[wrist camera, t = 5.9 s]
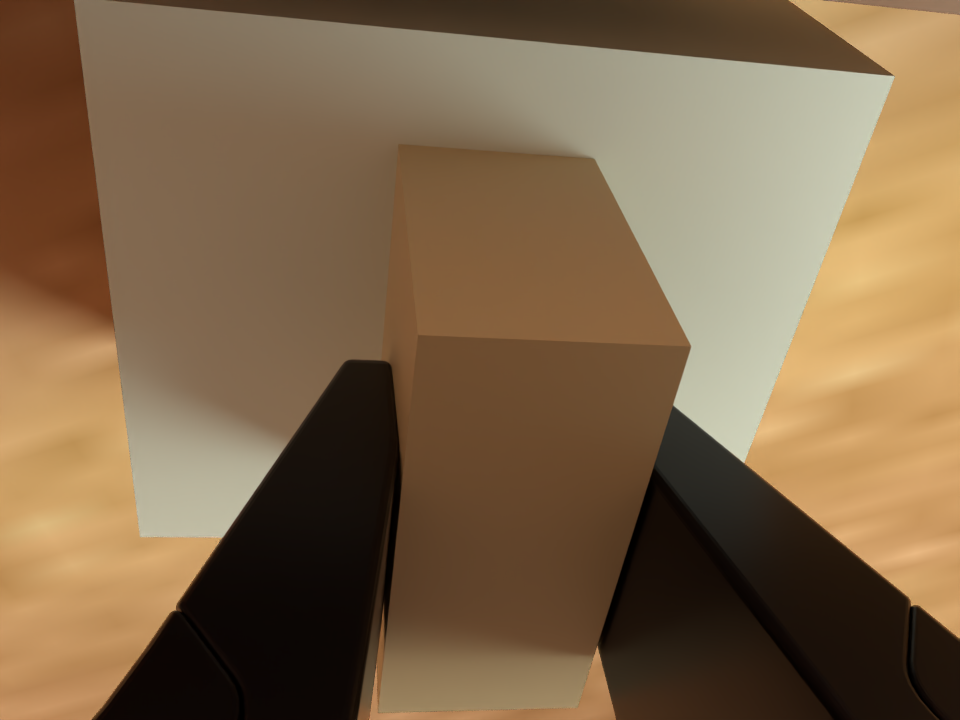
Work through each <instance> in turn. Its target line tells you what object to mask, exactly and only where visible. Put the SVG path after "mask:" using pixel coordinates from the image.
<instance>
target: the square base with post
mask: <svg viewBox="0 0 960 720" xmlns="http://www.w3.org/2000/svg"><path fill="white" fill-rule="evenodd" d="M74 6H75V14H76V22H77V30H78V38H79V46H80V54H81V62H82V70H83V79H84V87H85V95H86V103H87V111H88V119H89V127H90V135H91V143H92V152H93V160H94V168H95V176H96V184H97V192H98V200H99V208H100V216H101V225H102V233H103V241H104V249H105V257H106V265H107V273H108V281H109V289H110V297H111V306H112V314H113V322H114V330H115V338H116V346H117V354H118V362H119V370H120V379H121V387H122V395H123V403H124V411H125V419H126V427H127V435H128V443H129V452H130V460H131V468H132V476H133V484H134V492H135V500H136V508H137V516H138V525H139V533H140V537H223V536H224V535H225V533H226V532H227V531H228V529H229V528H230V526H231V525H232V523H233V522H234V520H235V519H236V517H237V516H238V515H239V513H240V512H241V510H242V509H243V507H244V506H245V504H246V503H247V502H248V500H249V499H250V497H251V496H252V494H253V493H254V491H255V490H256V489H257V487H258V486H259V484H260V483H261V481H262V480H263V478H264V477H265V475H266V474H267V473H268V471H269V470H270V468H271V467H272V465H273V464H274V462H275V461H276V460H277V458H278V457H279V455H280V454H281V452H282V451H283V449H284V448H285V446H286V445H287V444H288V442H289V441H290V439H291V438H292V436H293V435H294V433H295V432H296V431H297V429H298V428H299V426H300V425H301V423H302V422H303V420H304V419H305V417H306V416H307V415H308V413H309V412H310V410H311V409H312V407H313V406H314V404H315V403H316V402H317V400H318V399H319V397H320V396H321V394H322V393H323V391H324V390H325V389H326V387H327V386H328V384H329V383H330V381H331V380H332V378H333V377H334V375H335V374H336V373H337V371H338V370H339V368H340V367H341V365H342V364H343V363H344V362H345V361H347V360H350V359H359V360H383V361H387V362H388V363H389V364H390V365H391V368H392V377H393V387H394V397H395V406H396V416H397V426H398V437H399V455H398V466H397V476H396V486H395V495H394V505H393V515H392V525H391V535H390V545H389V555H388V565H387V574H386V584H385V594H384V604H383V614H382V624H381V632H380V639H379V647H378V655H377V694H378V713H399V712H437V711H476V710H515V709H554V708H578V705H579V702H580V699H581V695H582V692H583V689H584V686H585V683H586V680H587V676H588V673H589V670H590V667H591V664H592V661H593V657H594V654H595V651H596V648H597V645H598V641H599V638H600V635H601V632H602V629H603V626H604V622H605V619H606V616H607V613H608V610H609V607H610V603H611V600H612V597H613V594H614V591H615V588H616V584H617V581H618V578H619V575H620V572H621V569H622V565H623V562H624V559H625V556H626V553H627V550H628V546H629V543H630V540H631V537H632V534H633V531H634V527H635V524H636V521H637V518H638V515H639V511H640V508H641V505H642V502H643V499H644V496H645V492H646V489H647V486H648V483H649V480H650V477H651V473H652V470H653V467H654V464H655V461H656V458H657V454H658V451H659V448H660V445H661V442H662V439H663V435H664V432H665V429H666V426H667V423H668V420H669V416H670V413H671V410H672V407H673V405H674V406H675V407H676V408H677V409H679V410H680V411H681V412H682V413H683V414H685V415H686V416H687V417H688V418H690V419H691V420H692V421H693V422H694V423H696V424H697V425H698V426H699V427H701V428H702V429H703V430H704V431H705V432H707V433H708V434H709V435H710V436H712V437H713V438H714V439H715V440H716V441H718V442H719V443H720V444H721V445H723V446H724V447H725V448H726V449H727V450H729V451H730V452H731V453H732V454H734V455H735V456H736V457H737V458H738V459H740V460H741V461H742V462H743V463H744V462H745V459H746V457H747V454H748V451H749V449H750V446H751V444H752V441H753V439H754V436H755V434H756V431H757V428H758V426H759V423H760V421H761V418H762V416H763V413H764V410H765V408H766V405H767V403H768V400H769V398H770V395H771V393H772V390H773V387H774V385H775V382H776V380H777V377H778V375H779V372H780V369H781V367H782V364H783V362H784V359H785V357H786V354H787V352H788V349H789V346H790V344H791V341H792V339H793V336H794V334H795V331H796V328H797V326H798V323H799V321H800V318H801V316H802V313H803V310H804V308H805V305H806V303H807V300H808V298H809V295H810V293H811V290H812V287H813V285H814V282H815V280H816V277H817V275H818V272H819V269H820V267H821V264H822V262H823V259H824V257H825V254H826V252H827V249H828V246H829V244H830V241H831V239H832V236H833V234H834V231H835V228H836V226H837V223H838V221H839V218H840V216H841V213H842V210H843V208H844V205H845V203H846V200H847V198H848V195H849V193H850V190H851V187H852V185H853V182H854V180H855V177H856V175H857V172H858V169H859V167H860V164H861V162H862V159H863V157H864V154H865V152H866V149H867V146H868V144H869V141H870V139H871V136H872V134H873V131H874V128H875V126H876V123H877V121H878V118H879V116H880V113H881V111H882V108H883V105H884V103H885V100H886V98H887V95H888V93H889V90H890V87H891V85H892V82H893V80H894V77H895V76H894V75H892V74H891V73H890V72H888V71H887V70H885V69H884V68H882V67H881V66H880V65H878V64H877V63H875V62H874V61H873V60H871V59H870V58H868V57H867V56H866V55H864V54H863V53H861V52H860V51H859V50H857V49H856V48H854V47H853V46H852V45H850V44H849V43H847V42H846V41H845V40H843V39H842V38H840V37H839V36H838V35H836V34H835V33H833V32H832V31H831V30H829V29H828V28H826V27H825V26H824V25H822V24H821V23H819V22H818V21H817V20H815V19H814V18H812V17H811V16H810V15H808V14H807V13H805V12H804V11H803V10H801V9H800V8H798V7H797V6H796V5H794V4H793V3H791V2H790V1H789V0H74Z"/></svg>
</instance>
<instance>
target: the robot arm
mask: <svg viewBox="0 0 960 720" xmlns="http://www.w3.org/2000/svg"><path fill="white" fill-rule="evenodd" d="M398 455H399V437H398V426H397V416H396V406H395V397H394V387H393V377H392V368H391V365H390V364H389V363H388V362H387V361H383V360H359V359H350V360H347V361H345V362H344V363H343V364H342V365H341V367H340V368H339V370H338V371H337V373H336V374H335V375H334V377H333V378H332V380H331V381H330V383H329V384H328V386H327V387H326V389H325V390H324V391H323V393H322V394H321V396H320V397H319V399H318V400H317V402H316V403H315V404H314V406H313V407H312V409H311V410H310V412H309V413H308V415H307V416H306V417H305V419H304V420H303V422H302V423H301V425H300V426H299V428H298V429H297V431H296V432H295V433H294V435H293V436H292V438H291V439H290V441H289V442H288V444H287V445H286V446H285V448H284V449H283V451H282V452H281V454H280V455H279V457H278V458H277V460H276V461H275V462H274V464H273V465H272V467H271V468H270V470H269V471H268V473H267V474H266V475H265V477H264V478H263V480H262V481H261V483H260V484H259V486H258V487H257V489H256V490H255V491H254V493H253V494H252V496H251V497H250V499H249V500H248V502H247V503H246V504H245V506H244V507H243V509H242V510H241V512H240V513H239V515H238V516H237V517H236V519H235V520H234V522H233V523H232V525H231V526H230V528H229V529H228V531H227V532H226V533H225V535H224V536H223V538H222V539H221V541H220V542H219V544H218V545H217V546H216V548H215V549H214V551H213V552H212V554H211V555H210V557H209V558H208V560H207V561H206V562H205V564H204V565H203V567H202V568H201V570H200V571H199V573H198V574H197V575H196V577H195V578H194V580H193V581H192V583H191V584H190V586H189V587H188V589H187V590H186V591H185V593H184V594H183V596H182V597H181V599H180V600H179V602H178V603H177V605H176V611H172V612H171V613H170V614H169V615H168V617H167V618H166V620H165V621H164V622H163V624H162V625H161V627H160V628H159V630H158V631H157V633H156V634H155V636H154V637H153V638H152V640H151V641H150V643H149V644H148V646H147V647H146V649H145V650H144V651H143V653H142V654H141V655H140V657H139V658H138V659H137V661H136V662H135V664H134V665H133V666H132V668H131V669H130V670H129V672H128V673H127V674H126V676H125V677H124V678H123V680H122V681H121V682H120V684H119V685H118V686H117V688H116V689H115V690H114V692H113V693H112V695H111V696H110V697H109V699H108V700H107V701H106V703H105V704H104V705H103V707H102V708H101V709H100V710H99V712H98V713H97V714H96V715H95V716H94V717H93V719H92V720H369V717H370V709H371V701H372V694H373V686H374V678H375V670H376V663H377V655H378V647H379V639H380V632H381V624H382V614H383V604H384V594H385V584H386V574H387V565H388V555H389V545H390V535H391V525H392V515H393V505H394V495H395V486H396V476H397V466H398ZM597 646H598V650H599V654H600V658H601V661H602V665H603V669H604V673H605V677H606V681H607V685H608V689H609V693H610V697H611V701H612V704H613V708H614V712H615V716H616V720H960V639H959V638H958V637H957V636H956V635H954V634H953V633H952V632H951V631H949V630H948V629H947V628H946V627H944V626H943V625H942V624H941V623H940V622H938V621H937V620H936V619H935V618H933V617H932V616H931V615H930V614H929V613H927V612H926V611H925V610H924V609H922V608H921V607H920V606H918V605H913V606H911V601H910V599H909V598H908V597H907V596H906V595H905V594H904V593H902V592H901V591H900V590H899V589H898V588H896V587H895V586H894V585H893V584H891V583H890V582H889V581H888V580H887V579H885V578H884V577H883V576H882V575H880V574H879V573H878V572H877V571H876V570H874V569H873V568H872V567H871V566H869V565H868V564H867V563H866V562H864V561H863V560H862V559H861V558H860V557H858V556H857V555H856V554H855V553H853V552H852V551H851V550H850V549H849V548H847V547H846V546H845V545H844V544H842V543H841V542H840V541H839V540H838V539H836V538H835V537H834V536H833V535H831V534H830V533H829V532H828V531H827V530H825V529H824V528H823V527H822V526H820V525H819V524H818V523H817V522H816V521H814V520H813V519H812V518H811V517H809V516H808V515H807V514H806V513H805V512H803V511H802V510H801V509H800V508H798V507H797V506H796V505H795V504H794V503H792V502H791V501H790V500H789V499H787V498H786V497H785V496H784V495H783V494H781V493H780V492H779V491H778V490H776V489H775V488H774V487H773V486H772V485H770V484H769V483H768V482H767V481H765V480H764V479H763V478H762V477H761V476H759V475H758V474H757V473H756V472H754V471H753V470H752V469H751V468H749V467H748V466H747V465H746V464H745V463H743V462H742V461H741V460H740V459H738V458H737V457H736V456H735V455H734V454H732V453H731V452H730V451H729V450H727V449H726V448H725V447H724V446H723V445H721V444H720V443H719V442H718V441H716V440H715V439H714V438H713V437H712V436H710V435H709V434H708V433H707V432H705V431H704V430H703V429H702V428H701V427H699V426H698V425H697V424H696V423H694V422H693V421H692V420H691V419H690V418H688V417H687V416H686V415H685V414H683V413H682V412H681V411H680V410H679V409H677V408H676V407H675V406H674V405H673V407H672V410H671V413H670V416H669V420H668V423H667V426H666V429H665V432H664V435H663V439H662V442H661V445H660V448H659V451H658V454H657V458H656V461H655V464H654V467H653V470H652V473H651V477H650V480H649V483H648V486H647V489H646V492H645V496H644V499H643V502H642V505H641V508H640V511H639V515H638V518H637V521H636V524H635V527H634V531H633V534H632V537H631V540H630V543H629V546H628V550H627V553H626V556H625V559H624V562H623V565H622V569H621V572H620V575H619V578H618V581H617V584H616V588H615V591H614V594H613V597H612V600H611V603H610V607H609V610H608V613H607V616H606V619H605V622H604V626H603V629H602V632H601V635H600V638H599V641H598V645H597Z"/></svg>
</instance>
